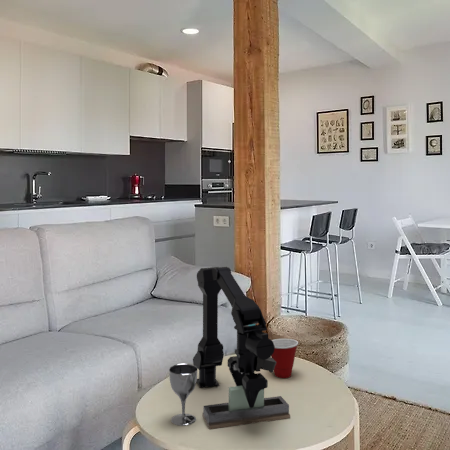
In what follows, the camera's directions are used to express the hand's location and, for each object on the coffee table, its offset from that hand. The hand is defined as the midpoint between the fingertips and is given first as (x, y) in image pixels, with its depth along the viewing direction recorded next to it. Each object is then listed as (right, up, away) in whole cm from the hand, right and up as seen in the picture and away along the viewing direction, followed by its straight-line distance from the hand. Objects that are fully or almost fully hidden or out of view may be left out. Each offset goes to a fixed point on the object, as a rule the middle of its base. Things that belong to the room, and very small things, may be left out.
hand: (246, 400), depth 145 cm
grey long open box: (0, -5, +1) cm, 5 cm away
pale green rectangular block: (0, -4, +1) cm, 4 cm away
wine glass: (-18, -5, -1) cm, 19 cm away
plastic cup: (+14, -2, +31) cm, 34 cm away
